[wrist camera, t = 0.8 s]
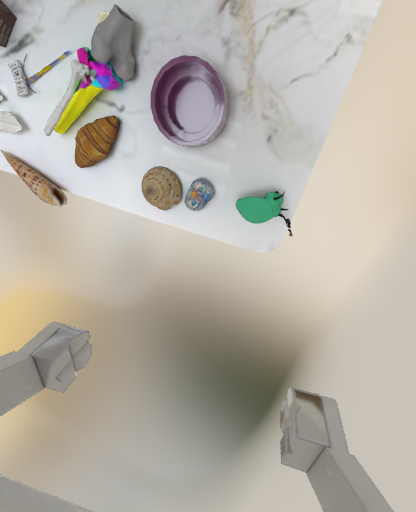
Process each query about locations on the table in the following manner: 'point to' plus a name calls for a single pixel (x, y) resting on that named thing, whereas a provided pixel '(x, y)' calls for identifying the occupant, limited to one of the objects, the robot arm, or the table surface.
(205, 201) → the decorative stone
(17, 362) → the robot arm
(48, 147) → the table surface
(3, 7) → the box
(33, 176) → the seashell
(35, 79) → the pen
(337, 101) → the table surface
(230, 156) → the table surface
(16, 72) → the necklace
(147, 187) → the seashell
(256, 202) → the toy
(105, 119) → the croissant
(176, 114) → the plum bowl
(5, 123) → the shaker set
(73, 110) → the knee model
